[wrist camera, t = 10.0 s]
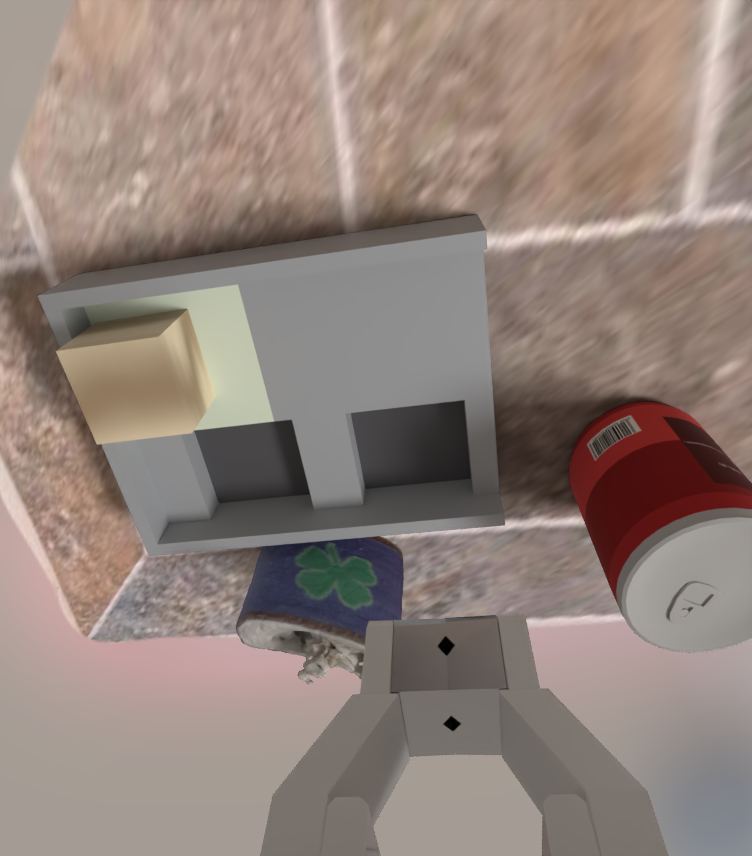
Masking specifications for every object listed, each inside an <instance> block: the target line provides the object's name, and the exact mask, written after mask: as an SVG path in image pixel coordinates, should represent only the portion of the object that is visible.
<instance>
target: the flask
mask: <svg viewBox="0 0 752 856" xmlns="http://www.w3.org/2000/svg"><path fill="white" fill-rule="evenodd" d="M403 579H404V577H403V554H402V550H401V549H400V548H399V547H398V546H397V545H396V544H393V543H392V542H391V541H389V540H387V539H384V538H382V537H379V536H375V537H363V538H352V539H340V540H329V541H317V542H306V543H294V544H283V545H271V546H262V549H261V553H260V555H259V558H258V561H257V564H256V568H255V571H254V575H253V578H252V582H251V584H250V587H249V590H248V593H247V596H246V598H245V601H244V604H243V608H242V611H241V613H240V616H239V618H238V621H237V625H236V630H237V633H238V636H239V637H240V639H241V641H242V643H244V644H246V645H248V646H251V647H254V648H260V649H268V650H273V651H282V652H285V653H291V654H297V655H300V656H304V657H306V661H305V663H304V665H303V667H304V669H303V670H301V671H299V672H298V677H299V679H302V680H304V681H305V682H306V683H307V684H312V683H313V681H312V680H310V679H309V676H310V675H312V676H315V677H317V678H321V677H323V676H324V677H326V673H325V672H327V671H328V670H329V669H330V668H333V667H335V666H336V667H341V668H344V669H346V670H348V671H349V672H351V673H354V674H356V675H357V676H359V678H360V679H361V680H362V670H363V659H364V649H365V638H366V628H367V625H368V622H369V621H383V620H401V613H402V594H403Z"/></svg>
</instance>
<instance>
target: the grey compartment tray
mask: <svg viewBox="0 0 752 856" xmlns="http://www.w3.org/2000/svg"><path fill="white" fill-rule="evenodd" d="M484 249H487V238H486V229H485V228H484V226H483V224H482V222H481V220H480V218H479V217H478V215H477V214H476V215H470V216H463V217H456V218H449V219H443V220H436V221H429V222H423V223H416V224H409V225H403V226H396V227H389V228H382V229H376V230H369V231H362V232H356V233H349V234H342V235H335V236H329V237H322V238H315V239H309V240H302V241H295V242H288V243H282V244H275V245H268V246H262V247H255V248H248V249H241V250H235V251H228V252H221V253H215V254H208V255H201V256H194V257H188V258H181V259H174V260H168V261H161V262H154V263H148V264H141V265H134V266H127V267H121V268H114V269H107V270H101V271H94V272H87V273H80V274H77V275H75V276H73V277H72V278H70V279H68V280H66V281H64V282H62V283H60V284H58V285H57V286H55V287H53V288H51V289H49V290H47V291H45V292H43V293H41V294H40V295H38V298H39V301H40V303H41V305H42V308H43V310H44V312H45V315H46V317H47V319H48V322H49V324H50V326H51V329H52V331H53V333H54V336H55V338H56V340H57V343H58V345H59V347H60V348H61V347H62V346H64V345H65V344H66V343H68V342H69V341H71V340H72V339H73V338H75V337H76V336H78V335H79V334H80V333H82V332H83V331H85V330H86V329H87V328H89V327H90V326H92V325H93V324H94V323H96V322H102V321H109V320H116V319H123V318H129V317H136V316H143V315H150V314H157V313H164V312H171V311H177V310H184V309H188V311H189V315H190V318H191V321H192V324H193V327H194V330H195V333H196V337H197V340H198V343H199V346H200V349H201V352H202V355H203V359H204V362H205V365H206V368H207V371H208V374H209V377H210V381H211V384H212V387H213V390H214V393H215V396H216V398H215V399H214V401H213V402H212V404H211V405H210V407H209V408H208V410H207V411H206V413H205V414H204V416H203V418H202V419H201V421H200V422H199V424H198V425H197V427H196V428H195V430H194V431H193V433H190V434H181V435H173V436H164V437H156V438H148V439H139V440H131V441H122V442H114V443H106V444H101V445H102V448H103V450H104V452H105V455H106V457H107V459H108V462H109V464H110V466H111V469H112V471H113V473H114V476H115V478H116V480H117V483H118V485H119V487H120V490H121V492H122V494H123V497H124V499H125V501H126V504H127V506H128V508H129V511H130V513H131V515H132V518H133V520H134V522H135V525H136V527H137V529H138V532H139V534H140V536H141V539H142V541H143V543H144V546H145V548H146V550H147V553H148V555H149V556H156V555H168V554H179V553H191V552H202V551H214V550H225V549H237V548H248V547H260V546H271V545H283V544H294V543H306V542H317V541H329V540H340V539H352V538H363V537H375V536H386V535H398V534H409V533H421V532H432V531H444V530H455V529H467V528H478V527H490V526H501V525H505V519H504V511H503V506H502V501H501V497H500V491H499V476H498V462H497V447H496V432H495V417H494V402H493V387H492V372H491V357H490V342H489V328H488V313H487V298H486V283H485V268H484V253H483V250H484Z"/></svg>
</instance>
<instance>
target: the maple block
mask: <svg viewBox="0 0 752 856" xmlns="http://www.w3.org/2000/svg"><path fill="white" fill-rule="evenodd" d="M56 353H57V355H58V357H59V360H60V362H61V364H62V367H63V369H64V371H65V373H66V376H67V378H68V380H69V382H70V385H71V387H72V389H73V392H74V394H75V396H76V398H77V401H78V403H79V405H80V407H81V410H82V412H83V414H84V416H85V419H86V421H87V423H88V426H89V428H90V430H91V432H92V435H93V437H94V439H95V441H96V444H106V443H114V442H122V441H131V440H139V439H148V438H156V437H164V436H173V435H181V434H190V433H193V431H194V430H195V428H196V427H197V425H198V424H199V422H200V421H201V419H202V418H203V416H204V414H205V413H206V411H207V410H208V408H209V407H210V405H211V404H212V402H213V401H214V399H215V398H216V396H215V393H214V390H213V387H212V384H211V381H210V377H209V374H208V371H207V368H206V365H205V362H204V359H203V355H202V352H201V349H200V346H199V343H198V340H197V337H196V333H195V330H194V327H193V324H192V321H191V318H190V315H189V311H188V309H184V310H177V311H171V312H164V313H157V314H150V315H143V316H136V317H129V318H123V319H116V320H109V321H102V322H96V323H94V324H93V325H92V326H90V327H89V328H87V329H86V330H85V331H83V332H82V333H80V334H79V335H78V336H76V337H75V338H73V339H72V340H71V341H69V342H68V343H66V344H65V345H64V346H62V347H61V348H59V349H58V350H57V351H56Z"/></svg>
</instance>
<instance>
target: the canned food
mask: <svg viewBox="0 0 752 856" xmlns="http://www.w3.org/2000/svg"><path fill="white" fill-rule="evenodd" d="M569 480H570V486H571V489H572V491H573V494H574V497H575V499H576V502H577V504H578V507H579V509H580V512H581V514H582V517H583V519H584V522H585V524H586V527H587V529H588V532H589V535H590V537H591V540H592V542H593V545H594V547H595V550H596V552H597V555H598V557H599V560H600V562H601V565H602V568H603V570H604V573H605V575H606V578H607V580H608V583H609V585H610V588H611V590H612V592H613V595H614V597H615V599H616V601H617V604H618V606H619V608H620V611H621V613H622V615H623V617H624V618H625V619H626V622H627V624H628V625H629V626H630V627H631V629H632V630H633V631H634V633H635V634H637V635H638V636H639V637H641V638H642V639H643V640H645V641H646V642H648V643H650V644H652V645H655V646H657V647H659V648H663V649H667V650H671V651H678V652H688V653H690V652H708V651H713V650H719V649H725V648H728V647H731V646H734V645H738V644H741V643H743V642H745V641H748V640H750V639H752V483H751V482H750V481H749V480H748V479H747V477H746V476H745V475H744V474H743V473H742V472H741V471H740V470H739V468H738V467H737V466H736V465H735V464H734V463H733V462H732V461H731V459H730V458H729V457H728V456H727V455H726V454H725V453H724V452H723V450H722V449H721V448H720V447H719V446H718V445H717V444H716V442H715V441H714V440H713V439H712V438H711V437H710V436H709V435H708V433H707V432H706V431H705V430H704V429H703V428H702V427H701V426H700V424H699V423H698V422H697V421H696V420H694V419H693V418H692V417H691V416H690V415H689V414H687V413H685V412H683V411H681V410H680V409H677V408H675V407H672V406H669V405H665V404H662V403H656V402H637V403H631V404H627V405H623V406H620V407H618V408H615V409H613V410H611V411H608V412H607V413H605V414H604V415H602V416H600V417H599V418H597V419H596V420H595V421H594V422H593V423H592V424H590V425H589V426H588V427H587V428H586V429H585V431H584V432H583V433H582V434H581V436H580V437H579V439H578V441H577V442H576V444H575V446H574V448H573V452H572V455H571V459H570V468H569Z"/></svg>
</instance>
